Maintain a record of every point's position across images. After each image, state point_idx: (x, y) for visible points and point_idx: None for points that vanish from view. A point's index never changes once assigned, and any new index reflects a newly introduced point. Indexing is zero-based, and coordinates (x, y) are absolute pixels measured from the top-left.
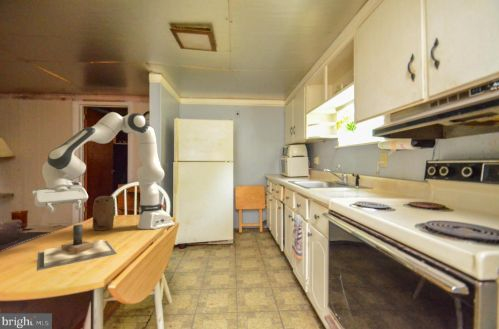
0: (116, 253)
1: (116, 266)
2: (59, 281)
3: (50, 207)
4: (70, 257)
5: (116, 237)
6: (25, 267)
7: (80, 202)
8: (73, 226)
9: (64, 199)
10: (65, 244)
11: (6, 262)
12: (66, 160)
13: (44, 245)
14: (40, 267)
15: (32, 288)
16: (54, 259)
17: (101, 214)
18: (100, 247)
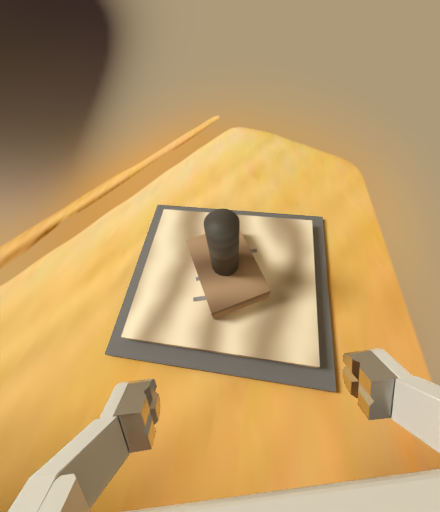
0: (157, 207)
1: (190, 157)
2: (282, 157)
3: (430, 387)
4: (255, 219)
5: (41, 401)
6: (350, 269)
7: (62, 452)
8: (239, 222)
9: (293, 505)
10: (258, 285)
11: (420, 365)
12: None
13: None
14: (316, 230)
15: (320, 157)
16: (289, 230)
17: None
18: (171, 247)
